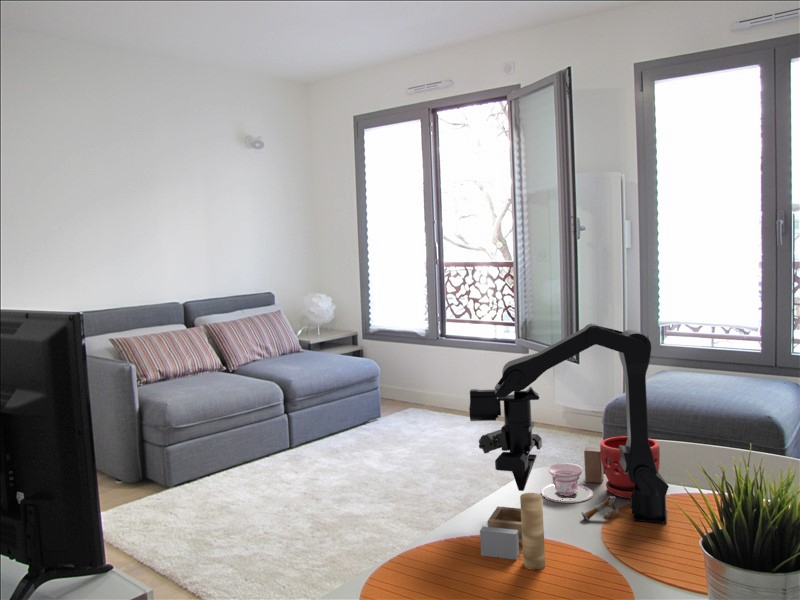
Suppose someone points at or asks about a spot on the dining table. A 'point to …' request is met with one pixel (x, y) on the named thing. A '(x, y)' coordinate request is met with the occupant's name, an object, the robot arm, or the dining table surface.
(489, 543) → the wall
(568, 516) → the dining table surface
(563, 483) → the teacup
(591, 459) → the wooden block
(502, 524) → the socket block
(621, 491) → the plant pot
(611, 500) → the brown and silver rod
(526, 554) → the dowel
